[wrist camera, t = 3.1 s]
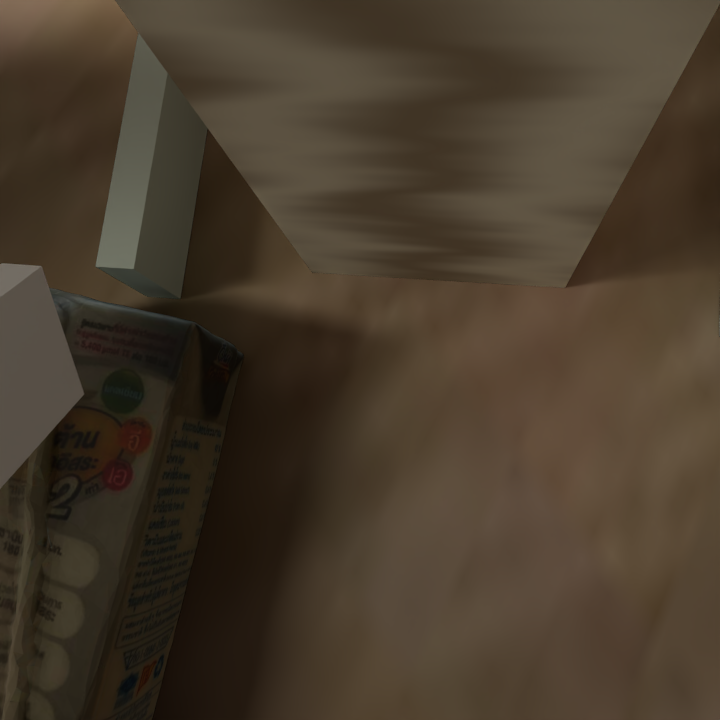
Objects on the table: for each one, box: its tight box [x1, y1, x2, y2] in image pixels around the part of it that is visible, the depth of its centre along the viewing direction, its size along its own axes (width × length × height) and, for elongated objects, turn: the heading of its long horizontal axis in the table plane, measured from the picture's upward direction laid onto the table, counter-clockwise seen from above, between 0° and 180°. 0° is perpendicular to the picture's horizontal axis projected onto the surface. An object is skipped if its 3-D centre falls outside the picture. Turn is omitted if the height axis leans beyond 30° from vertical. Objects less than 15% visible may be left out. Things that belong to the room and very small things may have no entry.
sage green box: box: [96, 33, 720, 337], centre depth 22 cm, size 24×18×10 cm
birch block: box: [115, 0, 720, 288], centre depth 18 cm, size 10×3×16 cm, turn 84°
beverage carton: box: [0, 288, 244, 720], centre depth 23 cm, size 8×19×7 cm, turn 167°
